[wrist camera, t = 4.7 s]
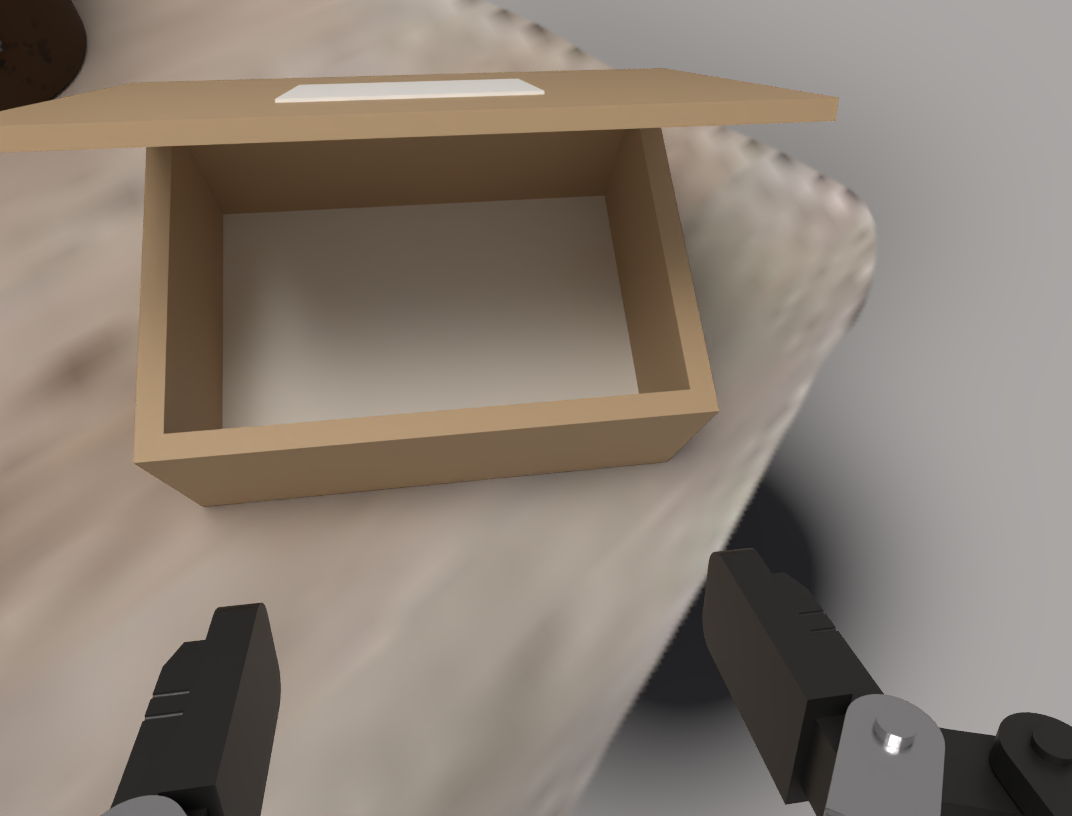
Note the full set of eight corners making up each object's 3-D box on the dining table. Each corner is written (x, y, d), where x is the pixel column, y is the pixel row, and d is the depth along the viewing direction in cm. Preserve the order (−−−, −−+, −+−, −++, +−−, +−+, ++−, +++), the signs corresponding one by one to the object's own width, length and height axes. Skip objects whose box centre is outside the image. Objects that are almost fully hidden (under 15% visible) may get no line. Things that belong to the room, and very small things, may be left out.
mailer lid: (835, 120, 21) (839, 93, 21) (-71, 155, 18) (-83, 124, 18) (662, 82, 35) (663, 65, 35) (136, 98, 32) (131, 80, 32)
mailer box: (667, 461, 38) (719, 411, 30) (203, 506, 35) (133, 463, 27) (617, 185, 43) (651, 82, 35) (206, 205, 40) (148, 97, 32)
